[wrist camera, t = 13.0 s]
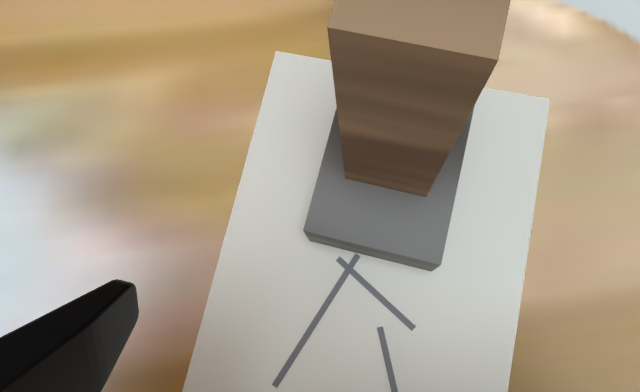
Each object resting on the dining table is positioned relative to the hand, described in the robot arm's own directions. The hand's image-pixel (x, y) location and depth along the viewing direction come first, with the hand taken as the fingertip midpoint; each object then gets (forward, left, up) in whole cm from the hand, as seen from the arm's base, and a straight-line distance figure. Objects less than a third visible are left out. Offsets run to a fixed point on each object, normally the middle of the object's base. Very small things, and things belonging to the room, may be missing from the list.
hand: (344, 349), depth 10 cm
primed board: (0, 0, -12) cm, 12 cm away
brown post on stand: (+7, -2, -10) cm, 12 cm away
